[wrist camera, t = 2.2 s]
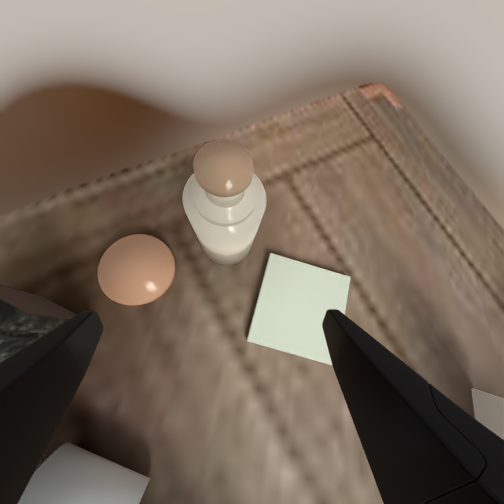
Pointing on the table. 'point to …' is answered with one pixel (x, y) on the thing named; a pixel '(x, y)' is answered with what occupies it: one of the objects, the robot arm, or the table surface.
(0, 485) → the robot arm
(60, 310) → the toy
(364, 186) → the table surface
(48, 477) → the white rounded cylinder
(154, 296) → the tan disc
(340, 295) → the pad
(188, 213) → the stoneware bottle
